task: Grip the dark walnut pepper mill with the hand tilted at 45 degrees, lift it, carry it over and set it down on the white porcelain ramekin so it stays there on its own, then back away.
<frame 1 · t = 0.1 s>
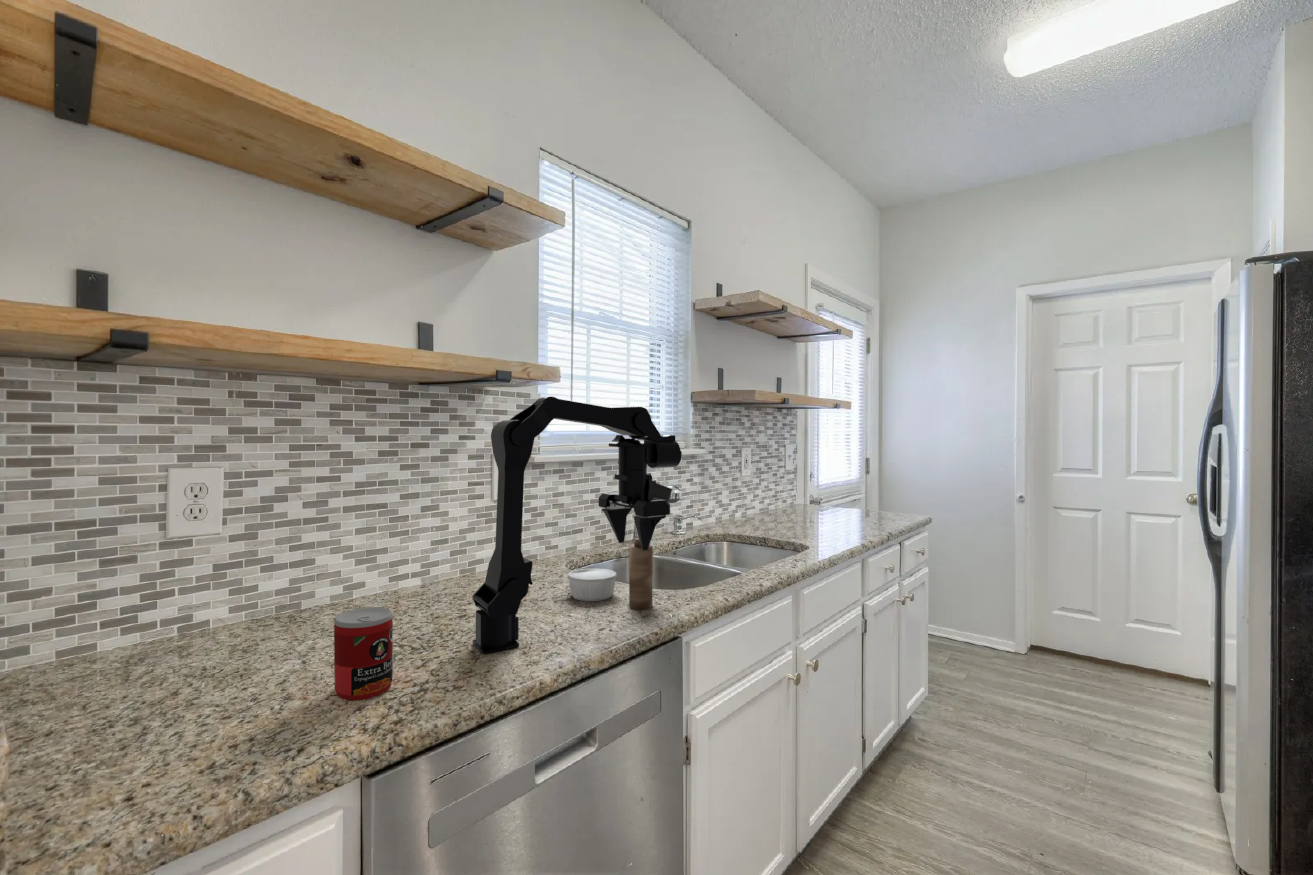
hand: (632, 546, 121), 15 cm above the counter, tool pointing down, fingers open, 9 cm apart
pepper mill: (640, 606, 130), on the counter
canned food: (364, 691, 88), on the counter
ramekin: (592, 597, 138), on the counter
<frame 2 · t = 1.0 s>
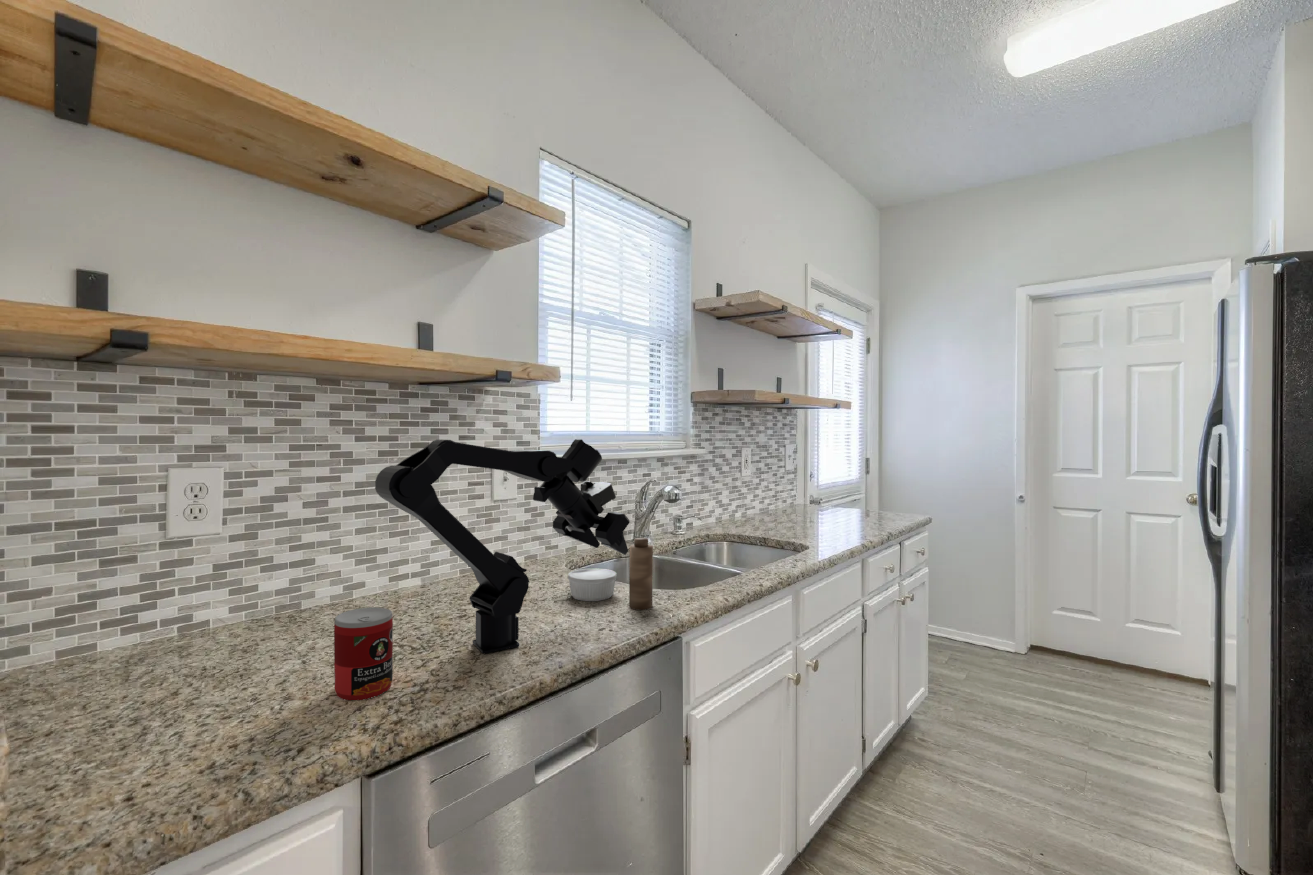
hand: (612, 549, 124), 13 cm above the counter, tool tilted 45°, fingers open, 9 cm apart
nothing on the counter moved.
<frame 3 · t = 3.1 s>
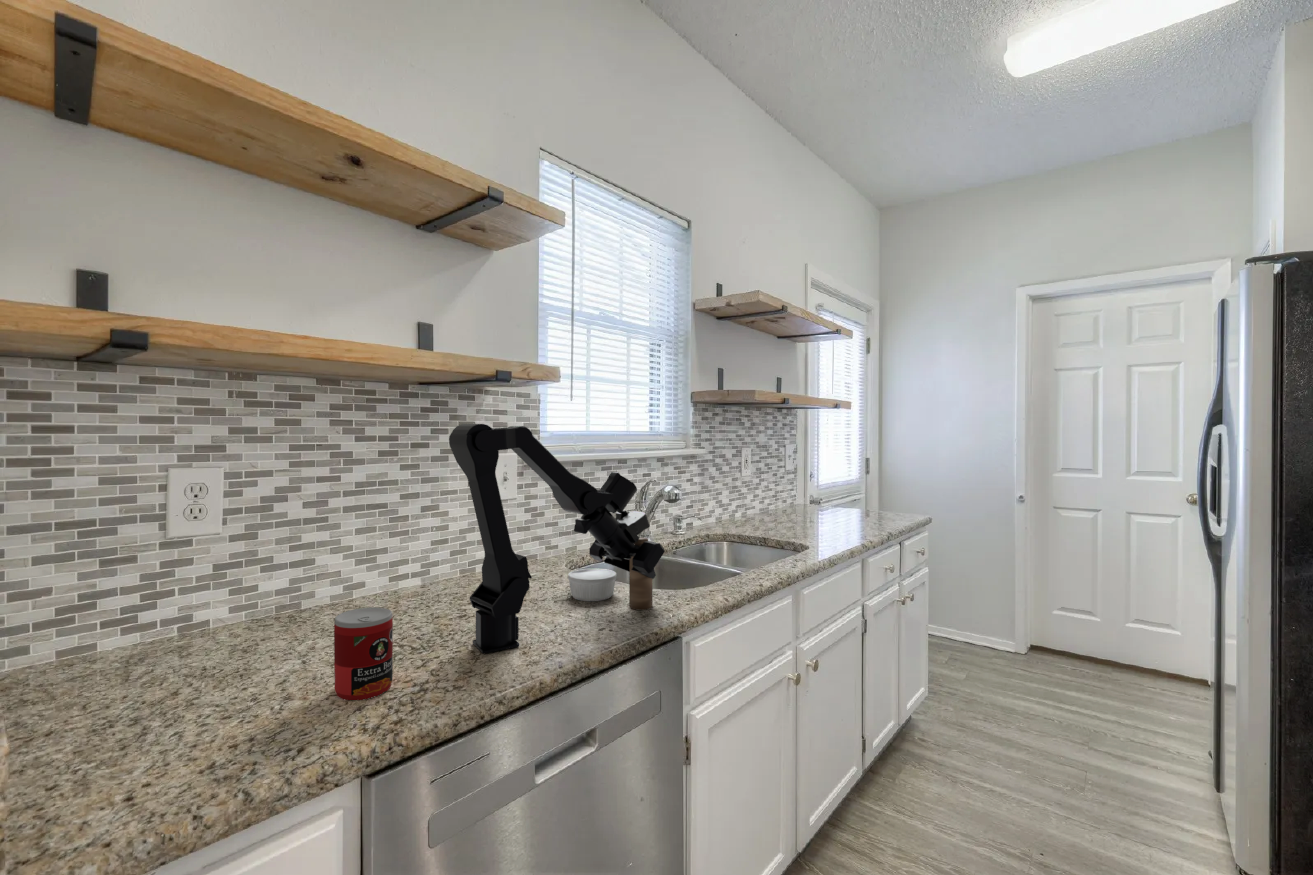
hand: (645, 574, 130), 7 cm above the counter, tool tilted 45°, fingers closed on pepper mill, 5 cm apart
pepper mill: (640, 606, 130), on the counter, touching gripper
everything else where it was.
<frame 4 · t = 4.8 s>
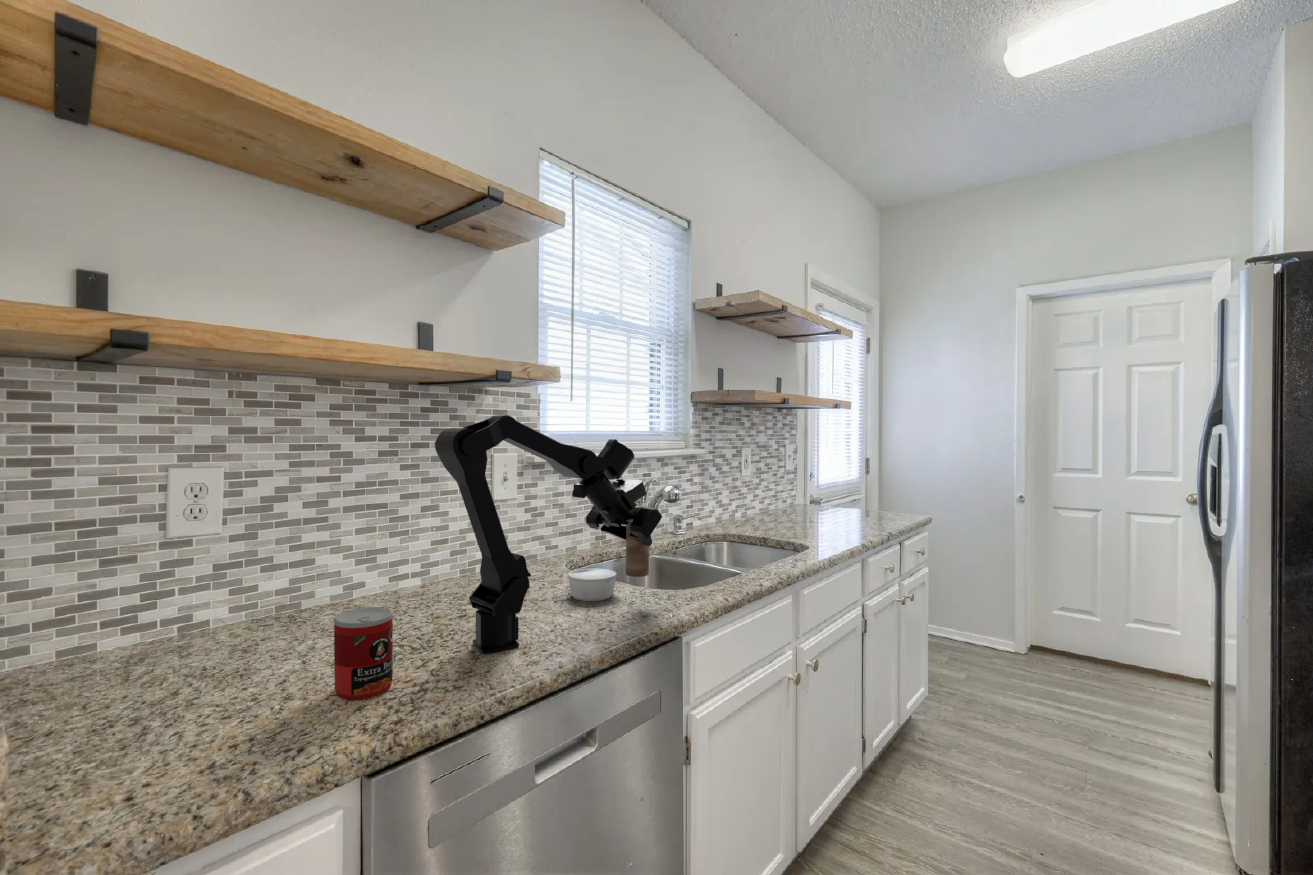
hand: (642, 542, 131), 13 cm above the counter, tool tilted 45°, fingers closed on pepper mill, 5 cm apart
pepper mill: (637, 574, 130), point 7 cm above the counter, touching gripper
everything else where it was.
when the fingers open (12 cm above the counter, at t = 6.6 s): pepper mill stays where it is, resting on ramekin.
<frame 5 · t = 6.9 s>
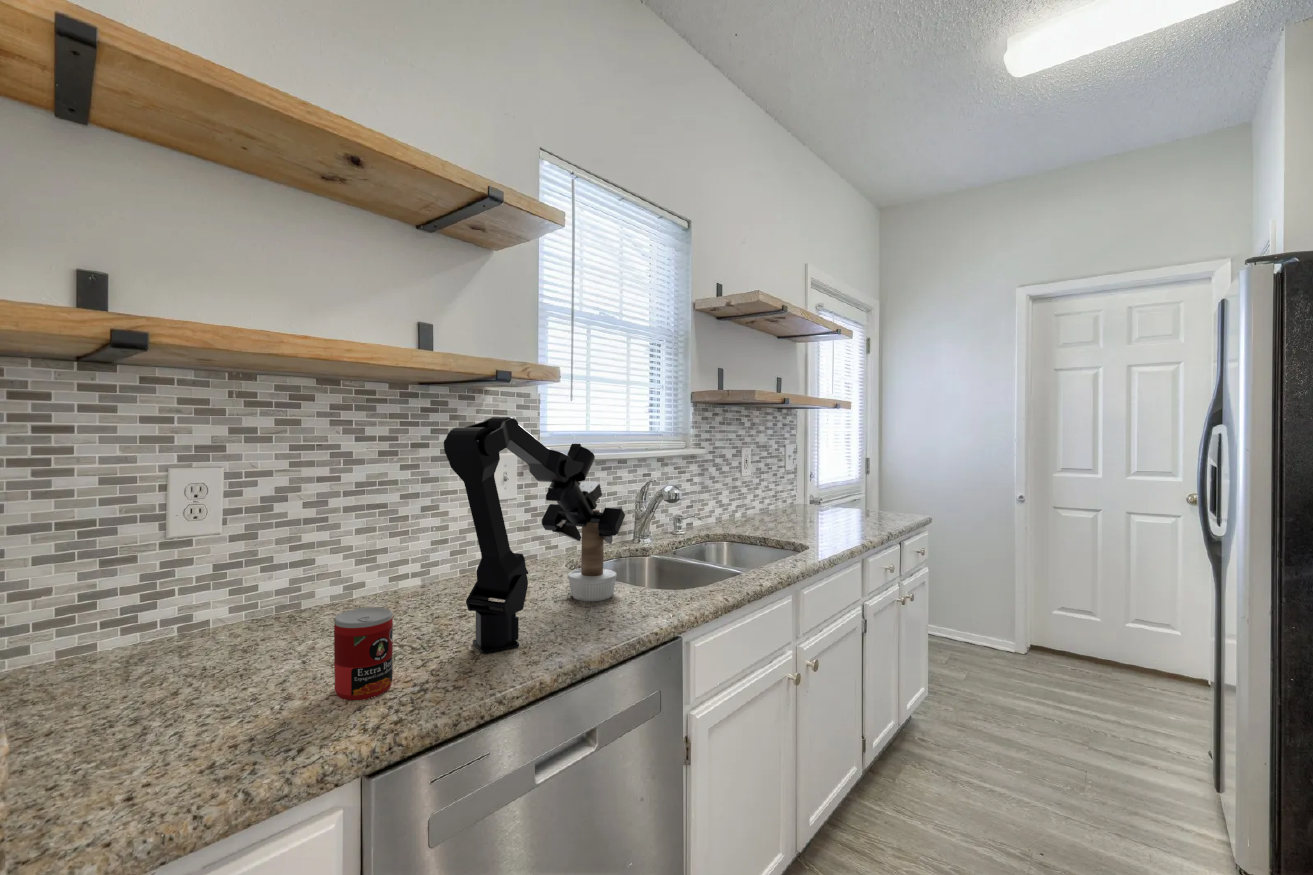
hand: (595, 540, 139), 12 cm above the counter, tool tilted 45°, fingers open, 8 cm apart
pepper mill: (592, 573, 137), point 5 cm above the counter, touching ramekin
ramekin: (592, 597, 138), on the counter, touching pepper mill
everything else where it was.
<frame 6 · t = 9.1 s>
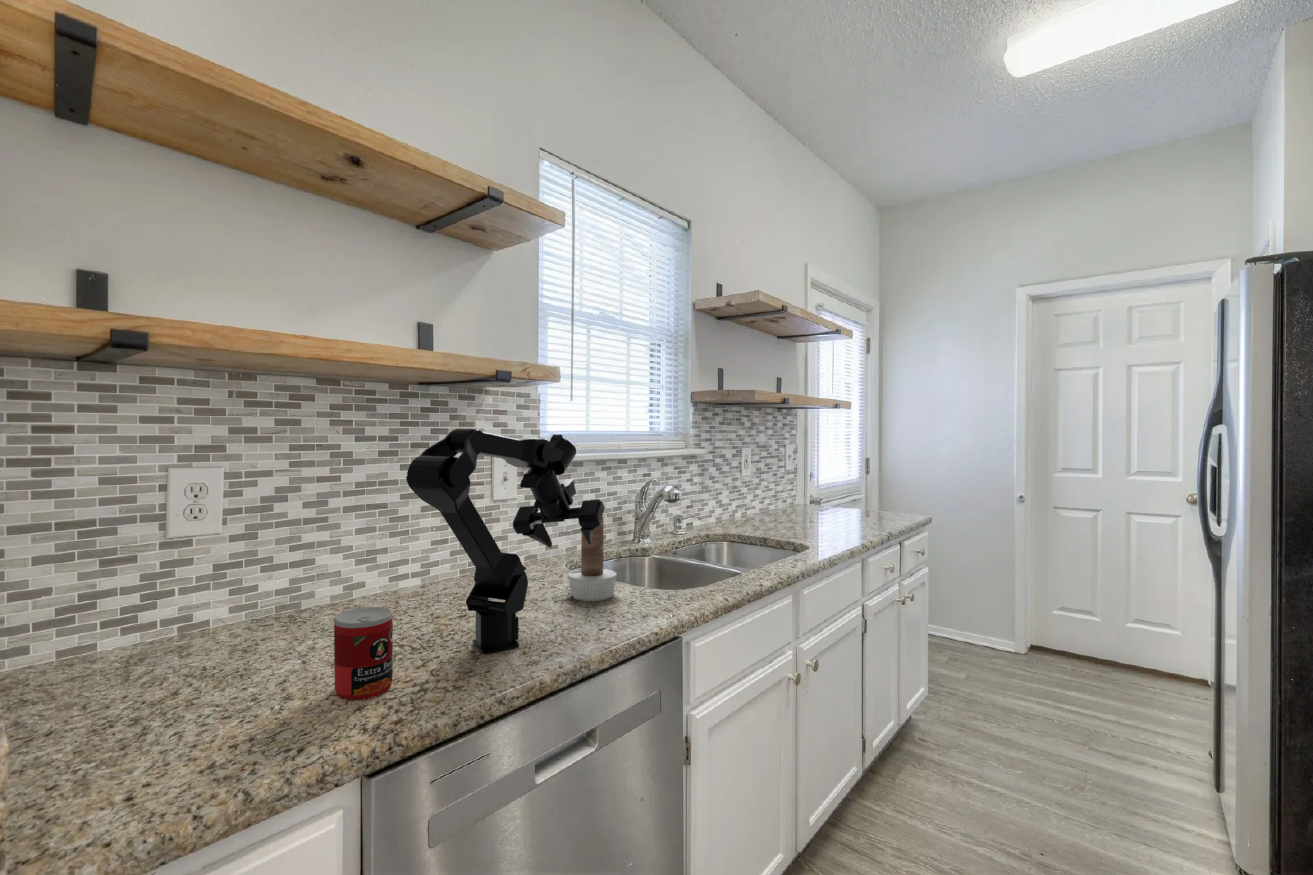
hand: (570, 544, 129), 13 cm above the counter, tool tilted 35°, fingers open, 9 cm apart
nothing on the counter moved.
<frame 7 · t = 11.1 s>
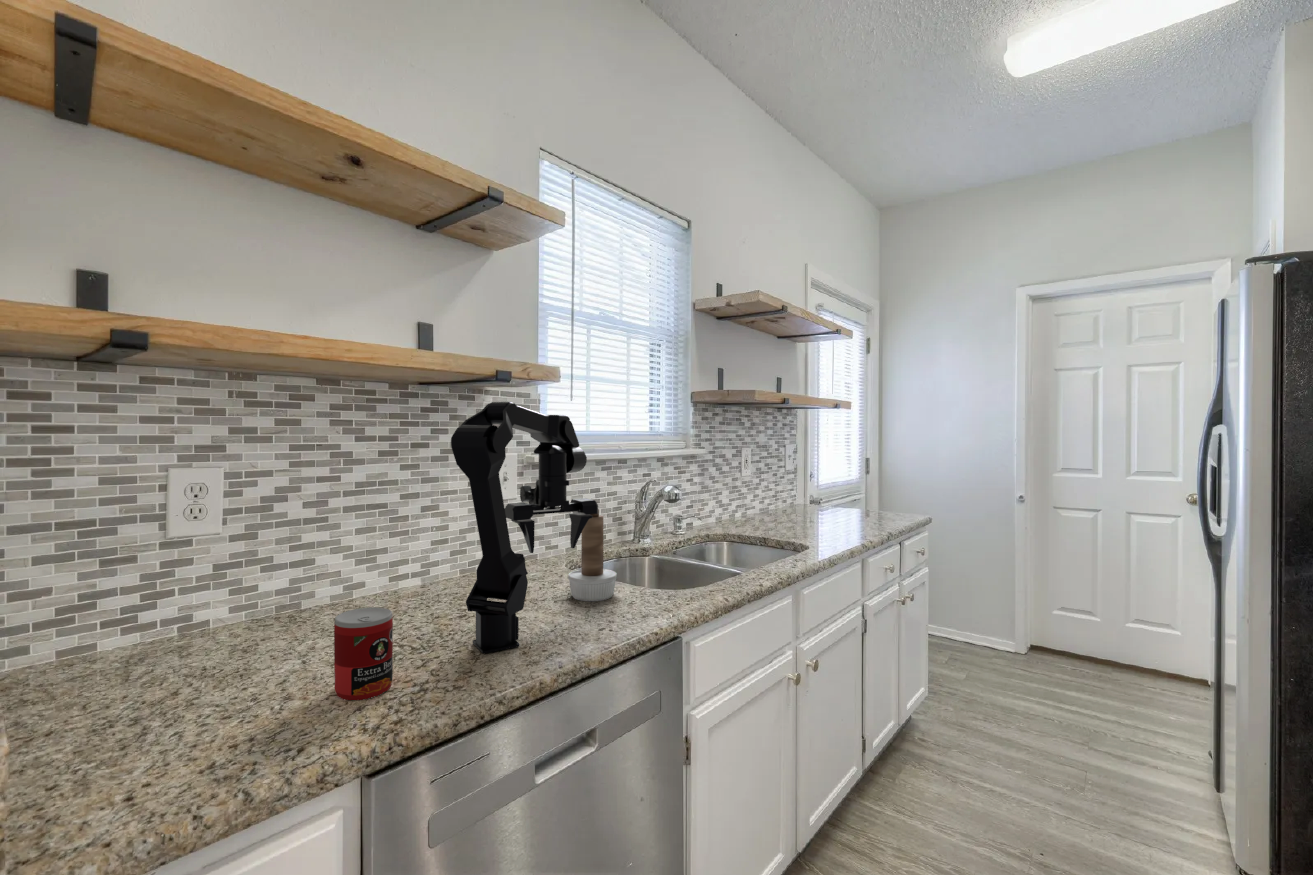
hand: (552, 550, 124), 13 cm above the counter, tool pointing down, fingers open, 9 cm apart
nothing on the counter moved.
at the end: pepper mill touching ramekin; the gripper is holding nothing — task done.
